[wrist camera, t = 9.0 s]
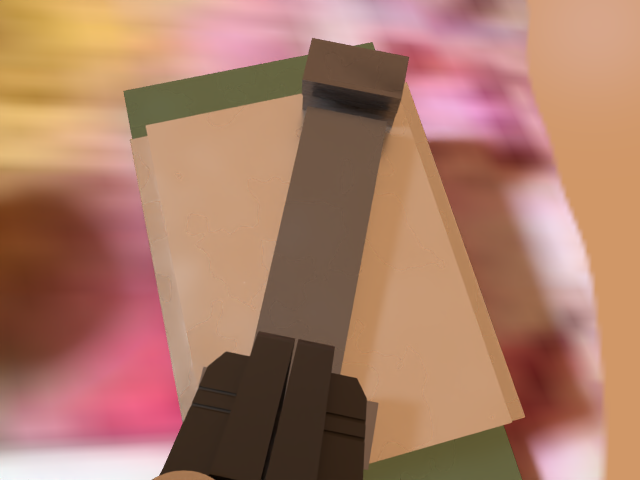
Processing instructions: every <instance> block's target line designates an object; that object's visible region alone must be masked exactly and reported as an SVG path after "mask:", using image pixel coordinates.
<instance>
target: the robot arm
mask: <svg viewBox="0 0 640 480" xmlns="http://www.w3.org/2000/svg"><path fill="white" fill-rule="evenodd" d="M294 344H295V338H291V337H286V336H281V335H276V334H271V333H266V332H262V331H259V332H258V334H257V336H256V339H255V342H254V345H253V348H252V351H251V354H250V356H246V355H241V354H236V353H231V352H227V351H226V352H225V353H223V354H222V355H221V356H220V357H218V358H217V359H216V360H215V361H213V362H212V363H211V364H210V365H209V366H208V367H207V369H206V371H205V374H204V376H203V378H202V380H201V383H200V385H199V389H198V390H197V392H196V394H195V396H194V399H193V401H192V405H191V407H190V408H189V410H188V412H187V415H186V417H185V419H184V422H183V424H182V426H181V429H180V431H179V433H178V435H177V438H176V440H175V442H174V445H173V447H172V449H171V451H170V454H169V456H168V458H167V461H166V463H165V465H164V467H163V469H162V471H161V473H160V475H159V476H158V477H156V478H154V479H152V480H363V469H364V449H365V442H364V441H365V429H366V424H365V422H366V408H367V398H366V396H365V394H364V391H363V389H362V387H361V385H360V383H359V381H358V379H357V378H354V377H349V376H345V375H340V374H335V373H331V372H332V365H333V358H334V350H335V346H331V345H326V344H321V343H316V342H311V341H306V340H302V339H298V343H297V347H296V351H295V356H294V360H293V364H292V368H291V373H290V377H289V381H288V376H289V371H290V365H291V360H292V355H293V349H294ZM287 381H288V385H287ZM286 387H287V390H286ZM285 392H286V394H285Z"/></svg>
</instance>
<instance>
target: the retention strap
mask: <svg viewBox="0 0 640 480" xmlns="http://www.w3.org/2000/svg"><path fill="white" fill-rule="evenodd" d="M386 126H387V121H382V120H376V119H371V118H366V117H361V116H356V115H351V114H346V113H341V112H336V111H331V110H326V109H321V108H316V107H311V106H307V110H306V114H305V119H304V123H303V127H302V132H301V136H300V140H299V145H298V149H297V154H296V158H295V162H294V167H293V171H292V176H291V180H290V184H289V189H288V193H287V197H286V202H285V206H284V211H283V215H282V219H281V224H280V228H279V232H278V237H277V241H276V246H275V250H274V254H273V259H272V263H271V267H270V272H269V276H268V281H267V285H266V289H265V294H264V298H263V303H262V307H261V311H260V316H259V320H258V324H257V329H256V333H255V338H254V342H255V339H256V336H257V334H258V332H259V331H262V332H266V333H271V334H276V335H281V336H286V337H291V338H295V344H294V349H293V355H292V360H291V365H290V371H289V376H288V381H289V377H290V373H291V368H292V364H293V360H294V356H295V351H296V347H297V343H298V339H302V340H306V341H311V342H316V343H321V344H326V345H331V346H335V350H334V358H333V365H332V372H331V373H335V374H340V373H341V368H342V363H343V357H344V352H345V346H346V341H347V336H348V330H349V325H350V319H351V314H352V309H353V303H354V298H355V293H356V287H357V282H358V276H359V271H360V266H361V260H362V255H363V249H364V244H365V239H366V233H367V228H368V223H369V217H370V212H371V206H372V201H373V196H374V190H375V185H376V179H377V174H378V169H379V163H380V158H381V152H382V147H383V142H384V136H385V131H386ZM254 342H253V345H254ZM252 348H253V346H252ZM288 381H287V385H288ZM286 390H287V387H286ZM285 394H286V392H285Z"/></svg>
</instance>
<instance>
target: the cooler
mask: <svg viewBox="0 0 640 480" xmlns="http://www.w3.org/2000/svg"><path fill="white" fill-rule="evenodd" d="M408 60H409V57H406V56H401V55H396V54H391V53H386V52H381V51H376V50H375V48H374V45H373V43H372V42H371V43H366V44H361V45H356V46H350V45H345V44H340V43H335V42H330V41H325V40H320V39H315V38H312V41H311V45H310V49H309V54H308V55H305V56H300V57H294V58H289V59H284V60H279V61H274V62H269V63H264V64H259V65H254V66H249V67H244V68H238V69H233V70H228V71H223V72H218V73H213V74H208V75H203V76H198V77H193V78H188V79H182V80H177V81H172V82H167V83H162V84H157V85H152V86H147V87H142V88H137V89H132V90H126V91H123V92H124V97H125V102H126V107H127V113H128V118H129V123H130V129H131V134H132V139H130V143H131V148H132V154H133V159H134V164H135V170H136V175H137V180H138V186H139V191H140V196H141V202H142V207H143V212H144V218H145V223H146V229H147V234H148V239H149V245H150V250H151V255H152V261H153V266H154V271H155V277H156V282H157V287H158V293H159V298H160V304H161V309H162V314H163V320H164V325H165V330H166V336H167V341H168V346H169V352H170V357H171V362H172V368H173V373H174V379H175V384H176V389H177V395H178V400H179V405H180V411H181V416H182V421H183V422H184V419H185V417H186V415H187V412H188V410H189V408H190V407H191V405H192V401H193V399H194V396H195V394H196V392H197V390H198V389H199V385H200V383H201V380H202V378H203V376H204V374H205V371H206V369H207V367H208V366H209V365H210V364H211V363H212V362H213V361H215V360H216V359H217V358H218V357H220V356H221V355H222V354H223V353H225V352H226V351H227V352H231V353H236V354H241V355H246V356H250V354H251V351H252V346H253V342H254V338H255V333H256V329H257V324H258V320H259V316H260V311H261V307H262V303H263V298H264V294H265V289H266V285H267V281H268V276H269V272H270V267H271V263H272V259H273V254H274V250H275V246H276V241H277V237H278V232H279V228H280V224H281V219H282V215H283V211H284V206H285V202H286V197H287V193H288V189H289V184H290V180H291V176H292V171H293V167H294V162H295V158H296V154H297V149H298V145H299V140H300V136H301V132H302V127H303V123H304V119H305V114H306V110H307V106H311V107H316V108H321V109H326V110H331V111H336V112H341V113H346V114H351V115H356V116H361V117H366V118H371V119H376V120H382V121H387V126H386V131H385V136H384V142H383V147H382V152H381V158H380V163H379V169H378V174H377V179H376V185H375V190H374V196H373V201H372V206H371V212H370V217H369V223H368V228H367V233H366V239H365V244H364V249H363V255H362V260H361V266H360V271H359V276H358V282H357V287H356V293H355V298H354V303H353V309H352V314H351V319H350V325H349V330H348V336H347V341H346V346H345V352H344V357H343V363H342V368H341V373H340V375H345V376H349V377H354V378H357V379H358V381H359V383H360V385H361V387H362V389H363V391H364V394H365V396H366V398H367V408H366V422H365V424H366V429H365V441H364V442H365V449H364V469H363V480H522V478H521V475H520V472H519V469H518V466H517V463H516V460H515V457H514V454H513V451H512V448H511V446H510V443H509V440H508V437H507V434H506V431H505V428H504V425H506V424H509V423H512V421H514V420H518V419H521V418H525V415H524V412H523V409H522V406H521V403H520V401H519V398H518V395H517V392H516V389H515V386H514V384H513V381H512V378H511V375H510V372H509V369H508V367H507V364H506V361H505V358H504V355H503V353H502V350H501V347H500V344H499V341H498V338H497V336H496V333H495V330H494V327H493V324H492V322H491V319H490V316H489V313H488V310H487V307H486V305H485V302H484V299H483V296H482V293H481V290H480V288H479V285H478V282H477V279H476V276H475V274H474V271H473V268H472V265H471V262H470V259H469V257H468V254H467V251H466V248H465V245H464V243H463V240H462V237H461V234H460V231H459V228H458V226H457V223H456V220H455V217H454V214H453V211H452V209H451V206H450V203H449V200H448V197H447V195H446V192H445V189H444V186H443V183H442V180H441V178H440V175H439V172H438V169H437V166H436V164H435V161H434V158H433V155H432V152H431V149H430V147H429V144H428V141H427V138H426V135H425V132H424V130H423V127H422V124H421V121H420V118H419V116H418V113H417V110H416V107H415V104H414V101H413V99H412V96H411V93H410V90H409V87H408V85H407V82H406V83H405V77H406V71H407V66H408Z"/></svg>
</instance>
